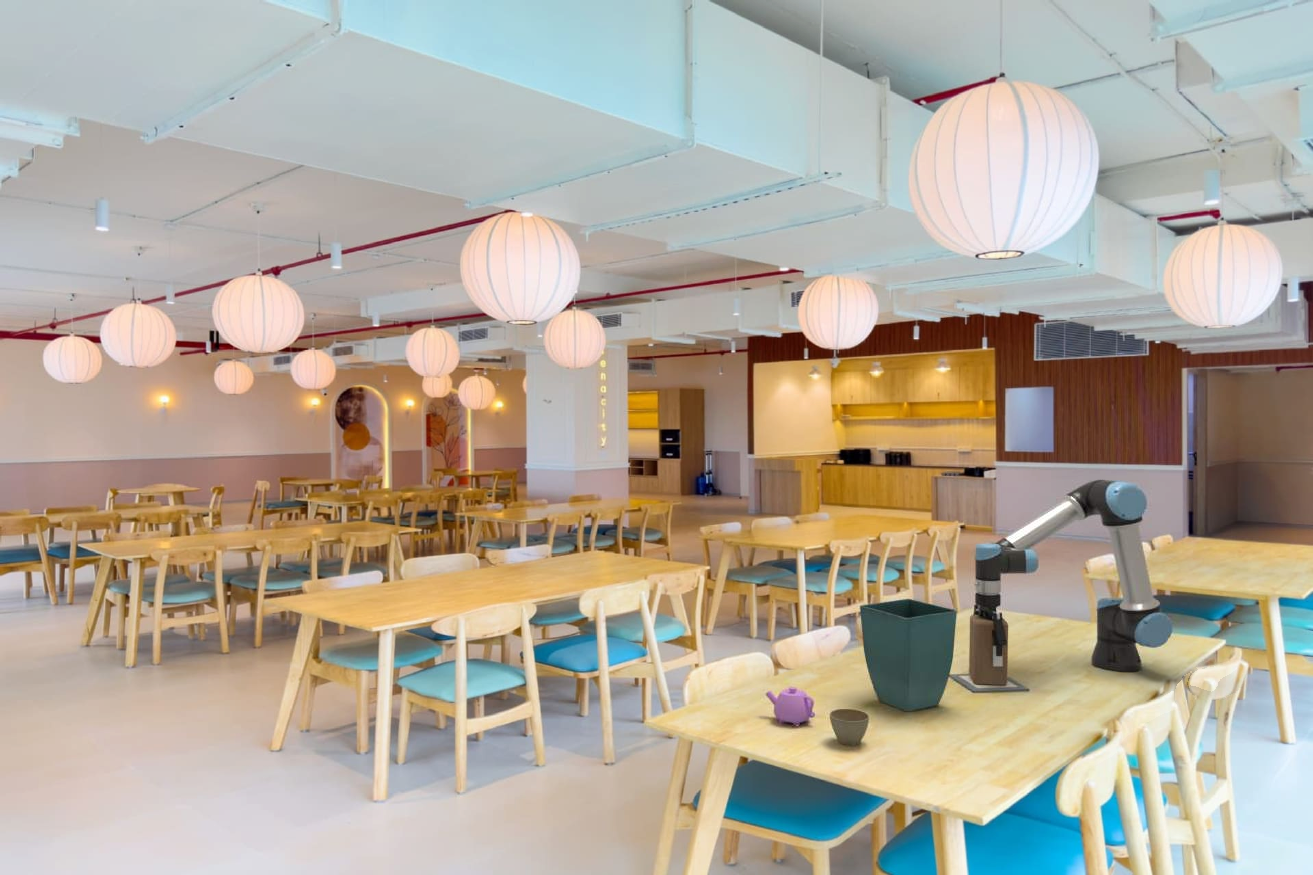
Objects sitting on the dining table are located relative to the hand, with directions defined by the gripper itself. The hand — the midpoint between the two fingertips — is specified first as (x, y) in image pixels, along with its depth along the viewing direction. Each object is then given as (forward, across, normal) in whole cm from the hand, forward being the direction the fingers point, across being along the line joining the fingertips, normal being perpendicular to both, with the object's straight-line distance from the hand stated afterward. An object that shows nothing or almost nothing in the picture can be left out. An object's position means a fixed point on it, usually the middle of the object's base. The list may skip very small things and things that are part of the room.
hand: (987, 660), depth 275 cm
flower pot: (+7, +17, -33) cm, 38 cm away
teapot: (+7, +28, -71) cm, 77 cm away
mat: (+7, 0, 0) cm, 7 cm away
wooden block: (+7, 0, 0) cm, 7 cm away
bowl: (+7, +46, -60) cm, 76 cm away
